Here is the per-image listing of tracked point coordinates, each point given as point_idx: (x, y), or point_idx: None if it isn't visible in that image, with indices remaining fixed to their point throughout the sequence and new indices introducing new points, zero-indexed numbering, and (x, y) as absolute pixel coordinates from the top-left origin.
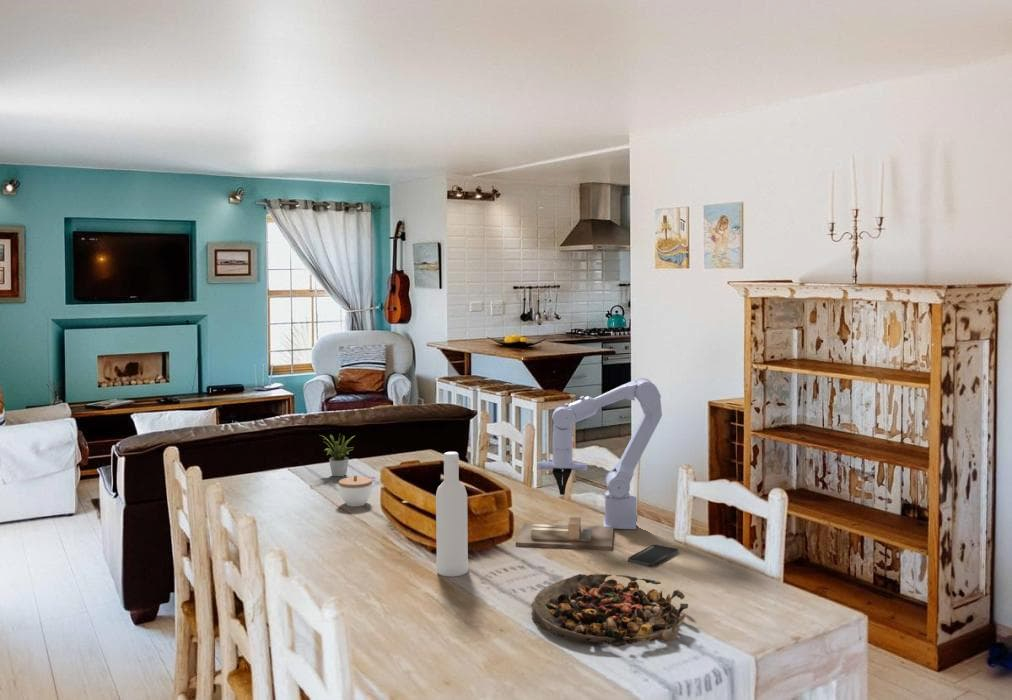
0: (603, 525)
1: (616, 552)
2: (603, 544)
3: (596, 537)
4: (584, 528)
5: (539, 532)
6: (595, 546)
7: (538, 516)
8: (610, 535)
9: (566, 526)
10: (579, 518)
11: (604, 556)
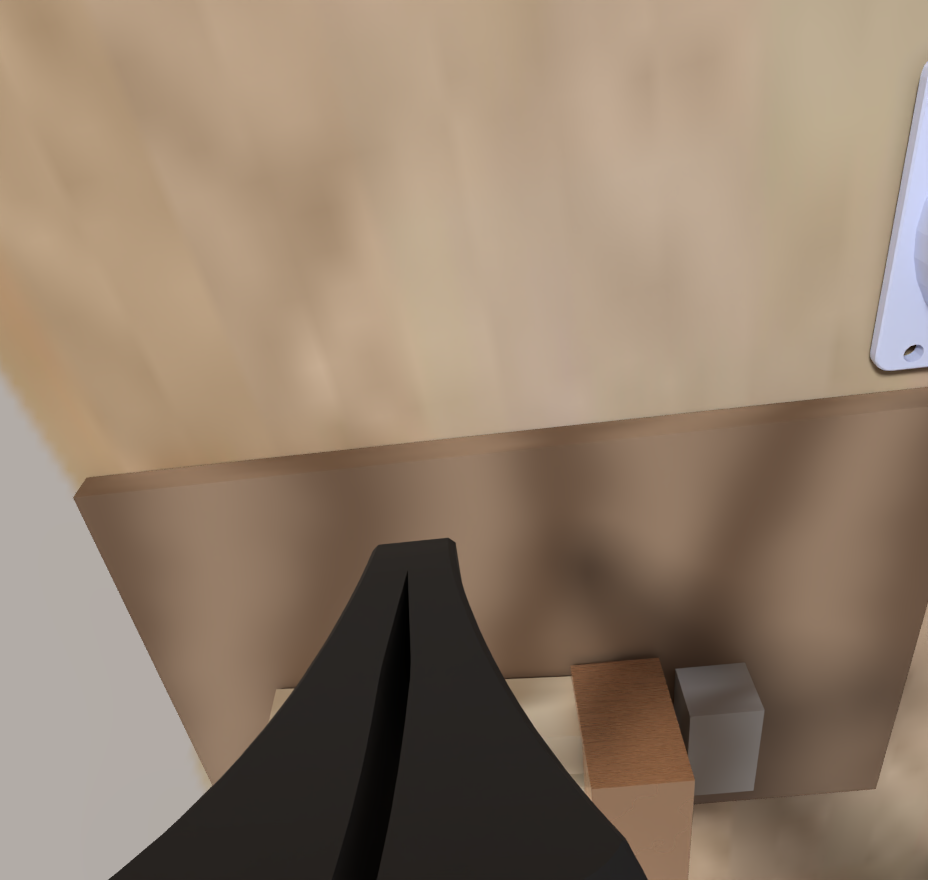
0: (885, 327)
1: (887, 788)
2: (822, 774)
3: (782, 676)
4: (683, 505)
5: None
6: (763, 793)
7: (26, 46)
8: (905, 617)
9: (553, 750)
10: (682, 798)
11: (803, 842)
